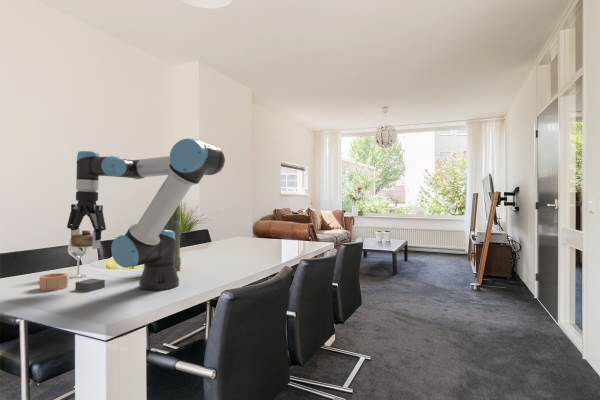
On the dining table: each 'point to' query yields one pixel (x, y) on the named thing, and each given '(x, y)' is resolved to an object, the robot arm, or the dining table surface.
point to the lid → (82, 239)
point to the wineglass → (77, 256)
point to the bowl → (53, 281)
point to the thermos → (176, 228)
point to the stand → (90, 285)
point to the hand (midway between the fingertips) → (85, 247)
